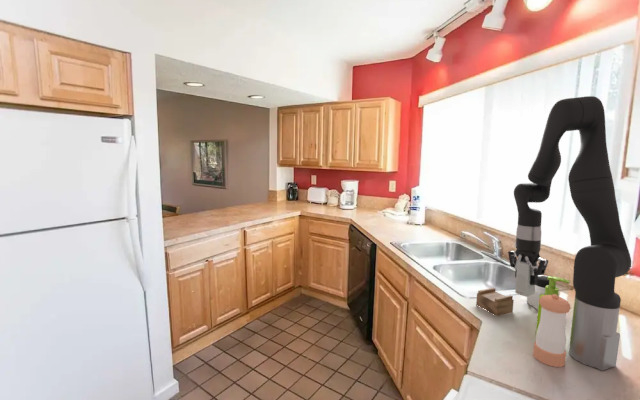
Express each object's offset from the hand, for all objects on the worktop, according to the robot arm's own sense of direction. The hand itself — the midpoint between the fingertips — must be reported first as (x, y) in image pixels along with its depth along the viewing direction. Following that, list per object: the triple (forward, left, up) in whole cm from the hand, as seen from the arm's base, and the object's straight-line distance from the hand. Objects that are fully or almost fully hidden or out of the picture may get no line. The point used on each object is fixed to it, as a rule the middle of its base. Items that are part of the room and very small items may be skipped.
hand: (525, 281), depth 112 cm
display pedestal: (+5, +10, -11) cm, 15 cm away
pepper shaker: (-22, +21, -11) cm, 32 cm away
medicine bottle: (0, -9, -11) cm, 15 cm away
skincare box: (0, 0, -5) cm, 5 cm away
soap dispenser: (-15, +10, -11) cm, 21 cm away
